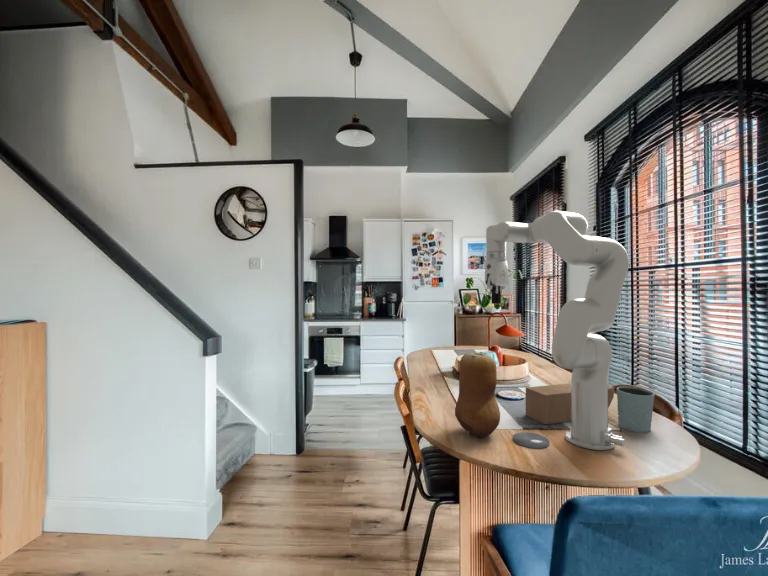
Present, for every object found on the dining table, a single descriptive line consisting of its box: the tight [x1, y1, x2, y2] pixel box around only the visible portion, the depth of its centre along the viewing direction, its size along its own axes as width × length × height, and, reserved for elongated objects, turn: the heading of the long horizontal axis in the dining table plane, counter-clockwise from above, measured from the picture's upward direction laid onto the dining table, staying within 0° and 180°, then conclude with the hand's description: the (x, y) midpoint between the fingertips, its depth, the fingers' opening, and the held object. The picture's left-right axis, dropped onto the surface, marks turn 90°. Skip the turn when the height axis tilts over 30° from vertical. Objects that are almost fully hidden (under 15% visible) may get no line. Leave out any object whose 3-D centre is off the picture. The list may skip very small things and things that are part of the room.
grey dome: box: [512, 431, 551, 449], centre depth 107 cm, size 10×10×1 cm
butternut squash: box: [454, 352, 501, 438], centre depth 112 cm, size 14×13×25 cm
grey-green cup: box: [616, 386, 656, 433], centre depth 117 cm, size 10×10×12 cm
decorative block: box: [525, 382, 615, 425], centre depth 128 cm, size 10×10×30 cm
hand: (496, 303), depth 142 cm, fingers closed
